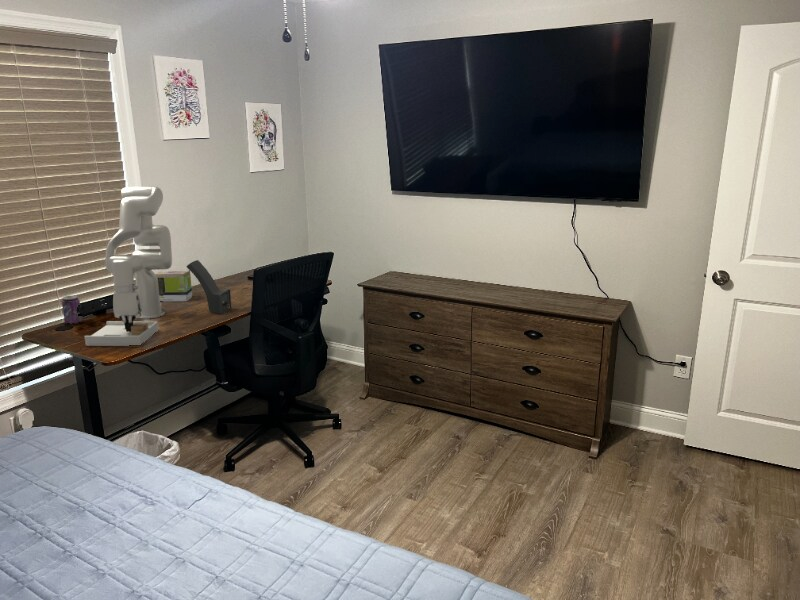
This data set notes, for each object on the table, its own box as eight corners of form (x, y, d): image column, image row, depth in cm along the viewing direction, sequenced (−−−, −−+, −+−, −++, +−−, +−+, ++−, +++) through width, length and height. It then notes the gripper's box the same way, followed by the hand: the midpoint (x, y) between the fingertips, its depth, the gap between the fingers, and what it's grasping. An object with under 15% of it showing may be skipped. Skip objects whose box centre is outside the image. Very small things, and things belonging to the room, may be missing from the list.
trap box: (108, 329, 264) (107, 321, 263) (158, 330, 264) (157, 321, 263) (85, 345, 245) (84, 336, 244) (140, 346, 245) (139, 336, 244)
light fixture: (199, 306, 300) (195, 258, 293) (232, 308, 297) (228, 260, 291) (188, 312, 290) (183, 263, 283) (222, 314, 287) (218, 265, 280)
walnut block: (136, 330, 255) (135, 323, 255) (148, 331, 255) (147, 323, 255) (131, 334, 251) (130, 326, 250) (143, 335, 251) (142, 327, 250)
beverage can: (62, 322, 273) (58, 297, 270) (78, 319, 278) (75, 294, 275) (68, 326, 269) (64, 300, 265) (85, 322, 274) (81, 297, 271)
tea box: (192, 296, 317) (190, 269, 313) (187, 302, 308) (184, 273, 304) (164, 296, 317) (161, 269, 313) (157, 302, 307) (154, 273, 303)
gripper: (146, 286, 252) (151, 328, 257) (110, 286, 252) (115, 327, 257) (139, 291, 245) (144, 333, 250) (102, 290, 245) (107, 333, 250)
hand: (129, 330), depth 254 cm, fingers closed
